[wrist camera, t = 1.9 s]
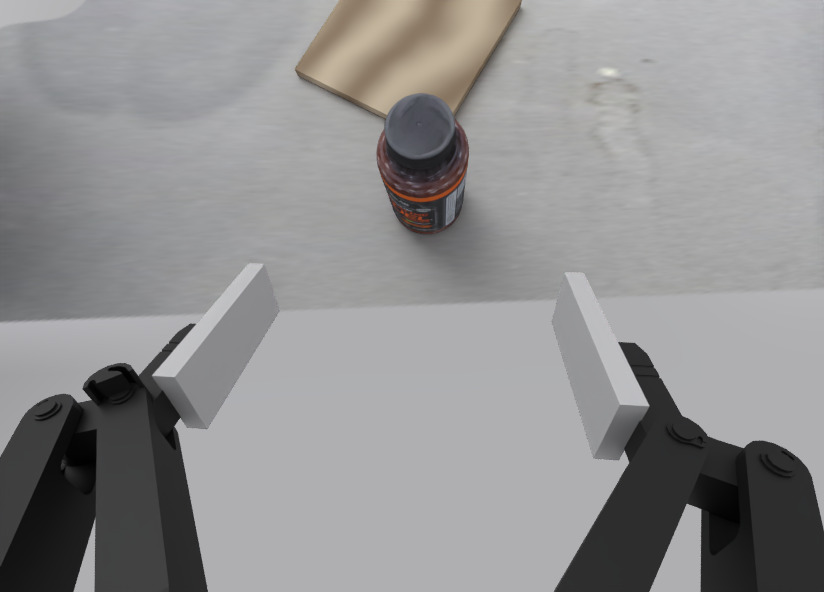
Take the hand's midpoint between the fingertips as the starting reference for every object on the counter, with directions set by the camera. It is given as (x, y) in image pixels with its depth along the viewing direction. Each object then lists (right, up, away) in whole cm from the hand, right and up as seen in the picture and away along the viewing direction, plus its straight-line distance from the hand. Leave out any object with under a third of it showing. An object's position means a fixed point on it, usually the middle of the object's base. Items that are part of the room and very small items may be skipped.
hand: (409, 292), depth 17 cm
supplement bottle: (+1, +8, +15) cm, 17 cm away
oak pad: (0, +23, +17) cm, 29 cm away
